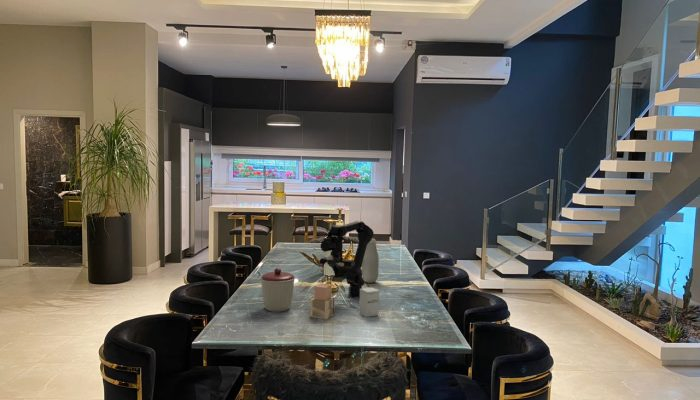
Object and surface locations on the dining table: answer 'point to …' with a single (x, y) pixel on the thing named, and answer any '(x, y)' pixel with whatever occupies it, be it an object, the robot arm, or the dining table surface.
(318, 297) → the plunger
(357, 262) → the robot arm
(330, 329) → the dining table surface
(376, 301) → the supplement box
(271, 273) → the canister
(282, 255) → the dining table surface
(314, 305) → the sleeve
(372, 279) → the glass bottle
